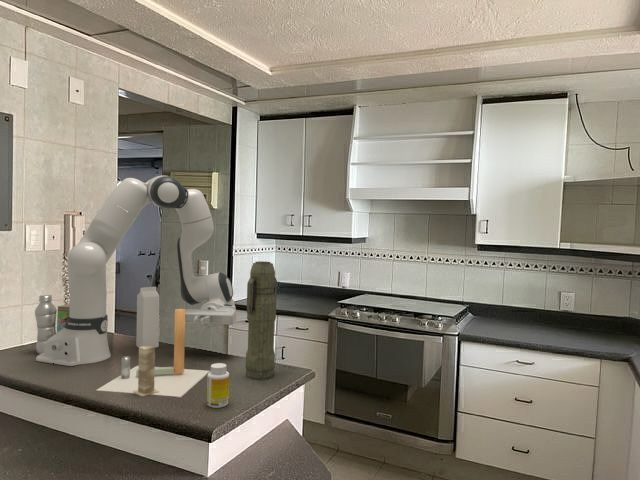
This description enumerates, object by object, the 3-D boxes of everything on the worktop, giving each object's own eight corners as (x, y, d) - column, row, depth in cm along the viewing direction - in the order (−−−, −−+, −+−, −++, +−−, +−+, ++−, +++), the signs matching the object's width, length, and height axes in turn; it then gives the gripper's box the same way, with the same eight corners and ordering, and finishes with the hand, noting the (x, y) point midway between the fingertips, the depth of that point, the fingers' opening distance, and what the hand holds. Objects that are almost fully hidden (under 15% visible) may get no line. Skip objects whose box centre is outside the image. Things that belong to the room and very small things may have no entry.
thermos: (282, 372, 151) (285, 261, 149) (260, 383, 140) (264, 264, 139) (259, 367, 155) (262, 260, 153) (236, 377, 144) (239, 262, 143)
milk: (158, 347, 176) (160, 287, 175) (142, 349, 172) (144, 288, 171) (151, 343, 180) (153, 285, 179) (135, 346, 176) (137, 286, 175)
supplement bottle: (233, 404, 123) (234, 365, 123) (215, 410, 119) (216, 370, 119) (220, 398, 127) (221, 360, 127) (202, 404, 123) (203, 365, 123)
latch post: (142, 398, 126) (143, 350, 125) (132, 393, 129) (133, 347, 129) (159, 393, 130) (160, 347, 129) (149, 388, 133) (150, 343, 132)
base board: (95, 391, 130) (95, 390, 130) (136, 366, 152) (137, 365, 152) (180, 397, 127) (180, 396, 127) (209, 371, 149) (209, 370, 149)
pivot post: (119, 378, 139) (119, 358, 139) (123, 376, 142) (124, 356, 142) (127, 379, 139) (127, 358, 139) (131, 376, 142) (131, 356, 141)
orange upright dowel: (136, 376, 140) (137, 311, 139) (136, 373, 143) (137, 309, 142) (184, 373, 144) (185, 310, 144) (183, 370, 147) (185, 308, 146)
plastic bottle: (62, 352, 165) (60, 294, 165) (43, 357, 159) (41, 296, 159) (50, 351, 168) (49, 294, 168) (31, 355, 162) (29, 296, 162)
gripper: (184, 303, 172) (167, 311, 158) (239, 305, 169) (227, 313, 155) (184, 321, 172) (167, 330, 158) (239, 323, 169) (227, 332, 156)
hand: (198, 321), depth 157 cm, fingers closed
